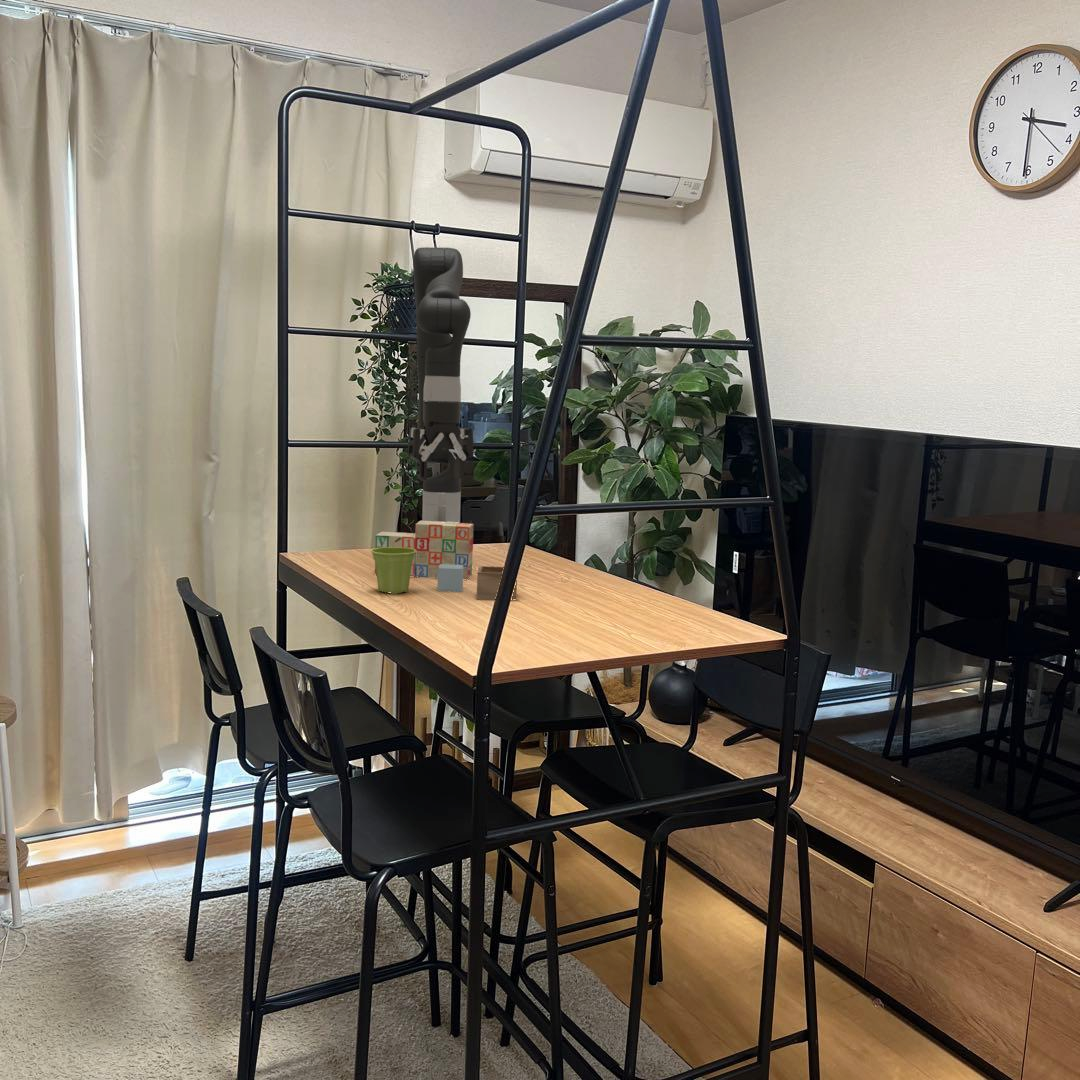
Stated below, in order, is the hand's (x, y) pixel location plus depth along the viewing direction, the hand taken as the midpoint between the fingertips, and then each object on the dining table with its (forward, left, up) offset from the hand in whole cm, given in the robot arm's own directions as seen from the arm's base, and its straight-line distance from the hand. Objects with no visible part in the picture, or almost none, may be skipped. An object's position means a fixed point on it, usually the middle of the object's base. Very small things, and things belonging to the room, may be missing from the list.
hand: (440, 479), depth 214 cm
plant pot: (0, -9, -24) cm, 26 cm away
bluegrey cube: (-4, +2, -24) cm, 24 cm away
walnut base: (+2, +12, -24) cm, 27 cm away
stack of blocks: (-20, -5, -24) cm, 32 cm away
